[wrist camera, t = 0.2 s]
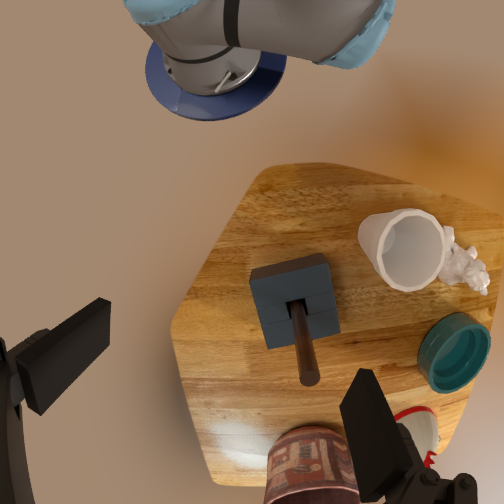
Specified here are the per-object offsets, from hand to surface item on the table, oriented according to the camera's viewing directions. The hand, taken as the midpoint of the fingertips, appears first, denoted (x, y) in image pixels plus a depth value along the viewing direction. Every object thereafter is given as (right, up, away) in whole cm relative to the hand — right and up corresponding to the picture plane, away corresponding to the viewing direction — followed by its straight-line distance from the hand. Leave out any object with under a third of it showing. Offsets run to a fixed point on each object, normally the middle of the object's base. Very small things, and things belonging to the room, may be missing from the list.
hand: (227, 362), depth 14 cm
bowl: (+39, -13, +31) cm, 51 cm away
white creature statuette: (+35, +5, +28) cm, 45 cm away
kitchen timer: (+36, -34, +36) cm, 61 cm away
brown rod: (+8, -1, +31) cm, 32 cm away
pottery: (+13, -34, +38) cm, 53 cm away
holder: (+8, -1, +31) cm, 32 cm away
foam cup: (+20, +8, +28) cm, 36 cm away
